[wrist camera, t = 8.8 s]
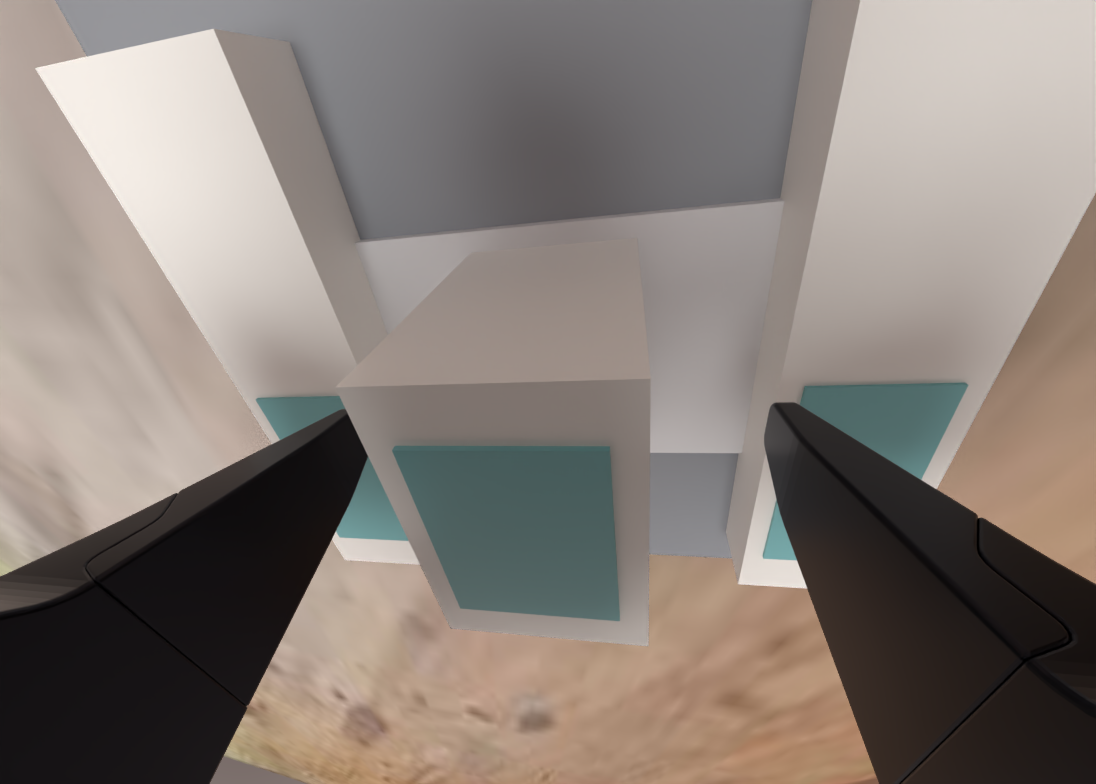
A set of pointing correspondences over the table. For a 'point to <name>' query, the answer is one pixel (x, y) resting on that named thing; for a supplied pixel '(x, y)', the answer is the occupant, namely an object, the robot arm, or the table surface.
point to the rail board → (612, 202)
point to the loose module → (521, 440)
